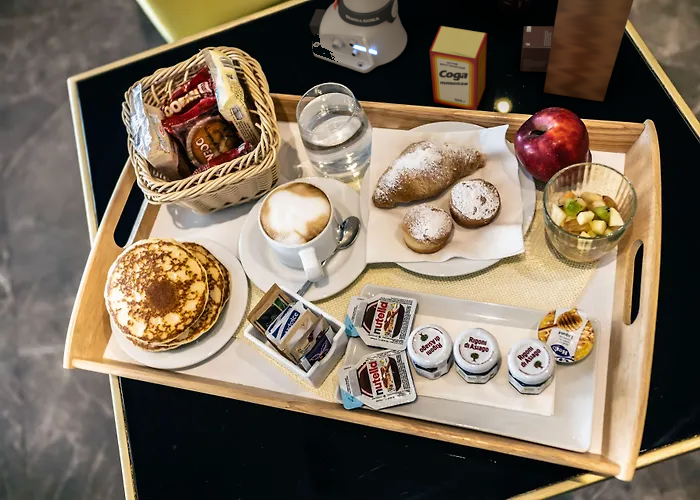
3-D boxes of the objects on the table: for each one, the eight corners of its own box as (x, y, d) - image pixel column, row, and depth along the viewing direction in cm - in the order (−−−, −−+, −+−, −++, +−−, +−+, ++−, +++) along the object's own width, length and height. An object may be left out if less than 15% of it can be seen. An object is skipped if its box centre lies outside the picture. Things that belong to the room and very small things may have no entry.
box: (548, 73, 130) (552, 48, 123) (519, 72, 131) (521, 47, 125) (550, 51, 132) (554, 25, 126) (521, 50, 134) (524, 25, 127)
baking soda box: (434, 102, 132) (429, 49, 118) (443, 79, 134) (440, 24, 120) (476, 110, 129) (476, 57, 115) (485, 87, 131) (487, 32, 117)
